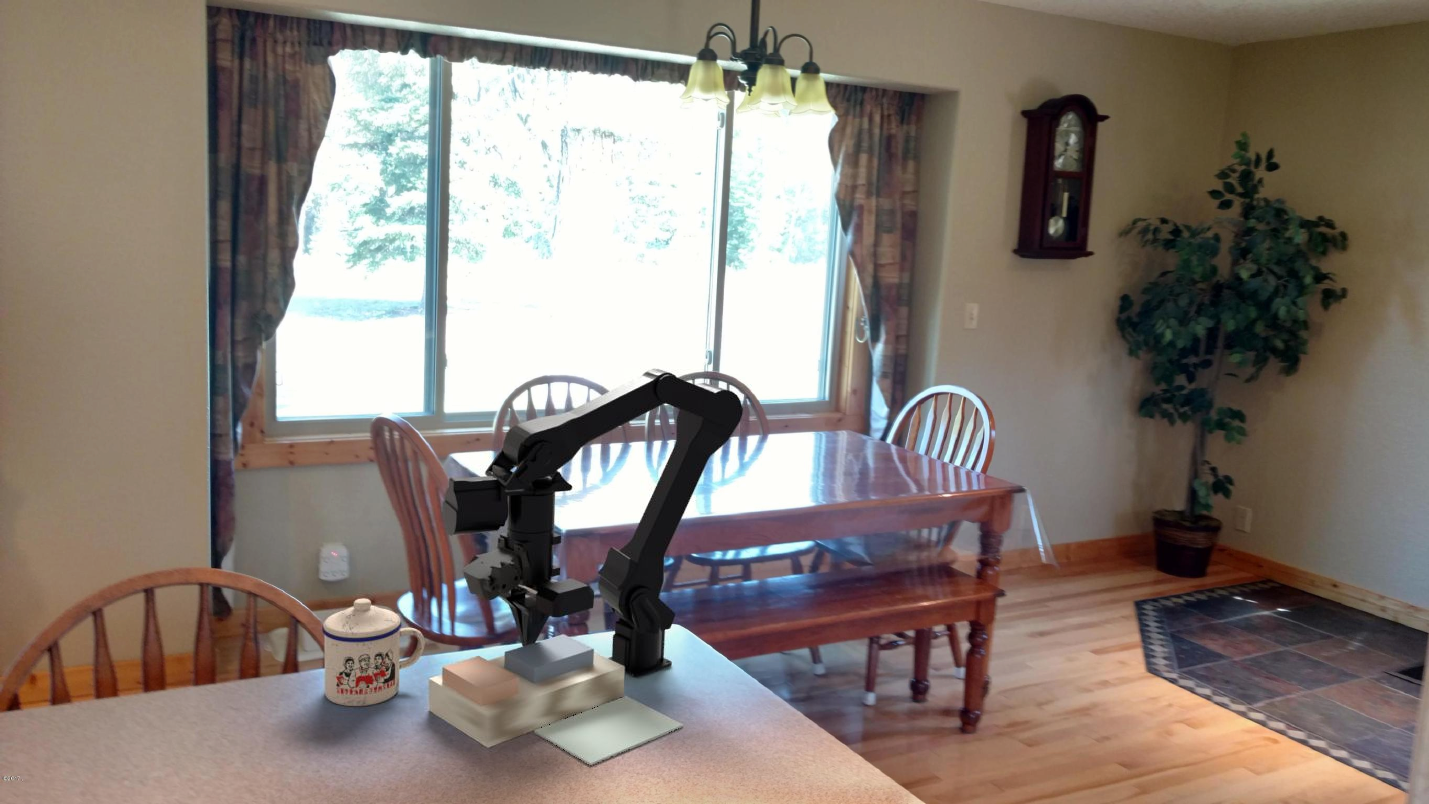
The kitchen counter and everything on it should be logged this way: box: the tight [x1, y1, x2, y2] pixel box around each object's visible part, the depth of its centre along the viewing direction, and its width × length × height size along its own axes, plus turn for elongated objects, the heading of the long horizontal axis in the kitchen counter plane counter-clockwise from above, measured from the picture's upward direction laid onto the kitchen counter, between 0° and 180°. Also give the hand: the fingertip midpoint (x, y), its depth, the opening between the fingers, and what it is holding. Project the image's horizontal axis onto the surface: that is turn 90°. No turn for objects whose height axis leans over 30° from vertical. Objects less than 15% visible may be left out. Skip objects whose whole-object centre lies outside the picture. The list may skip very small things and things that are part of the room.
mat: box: [534, 695, 684, 766], centre depth 124 cm, size 14×10×1 cm
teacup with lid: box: [321, 598, 425, 707], centre depth 131 cm, size 12×9×12 cm
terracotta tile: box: [441, 655, 519, 706], centre depth 124 cm, size 5×8×2 cm, turn 46°
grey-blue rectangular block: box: [503, 633, 595, 684], centre depth 131 cm, size 9×6×2 cm, turn 136°
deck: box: [428, 651, 625, 748], centre depth 130 cm, size 20×12×4 cm, turn 136°
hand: (527, 647), depth 134 cm, fingers closed
